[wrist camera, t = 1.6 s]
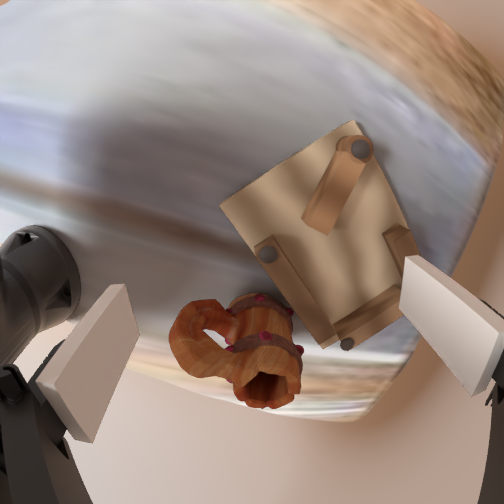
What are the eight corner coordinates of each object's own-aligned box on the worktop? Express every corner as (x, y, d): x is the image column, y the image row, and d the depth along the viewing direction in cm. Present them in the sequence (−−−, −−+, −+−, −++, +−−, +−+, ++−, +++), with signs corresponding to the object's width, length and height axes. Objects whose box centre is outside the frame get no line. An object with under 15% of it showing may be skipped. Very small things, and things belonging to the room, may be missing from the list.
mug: (304, 304, 38) (334, 383, 24) (271, 348, 41) (283, 432, 26) (205, 251, 35) (183, 317, 21) (176, 302, 38) (147, 381, 23)
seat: (320, 343, 41) (329, 366, 36) (220, 203, 34) (216, 212, 29) (422, 275, 38) (442, 291, 33) (349, 120, 31) (367, 116, 26)
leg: (342, 131, 30) (355, 129, 26) (364, 144, 30) (379, 144, 27) (298, 216, 33) (305, 225, 29) (321, 228, 33) (330, 238, 30)
